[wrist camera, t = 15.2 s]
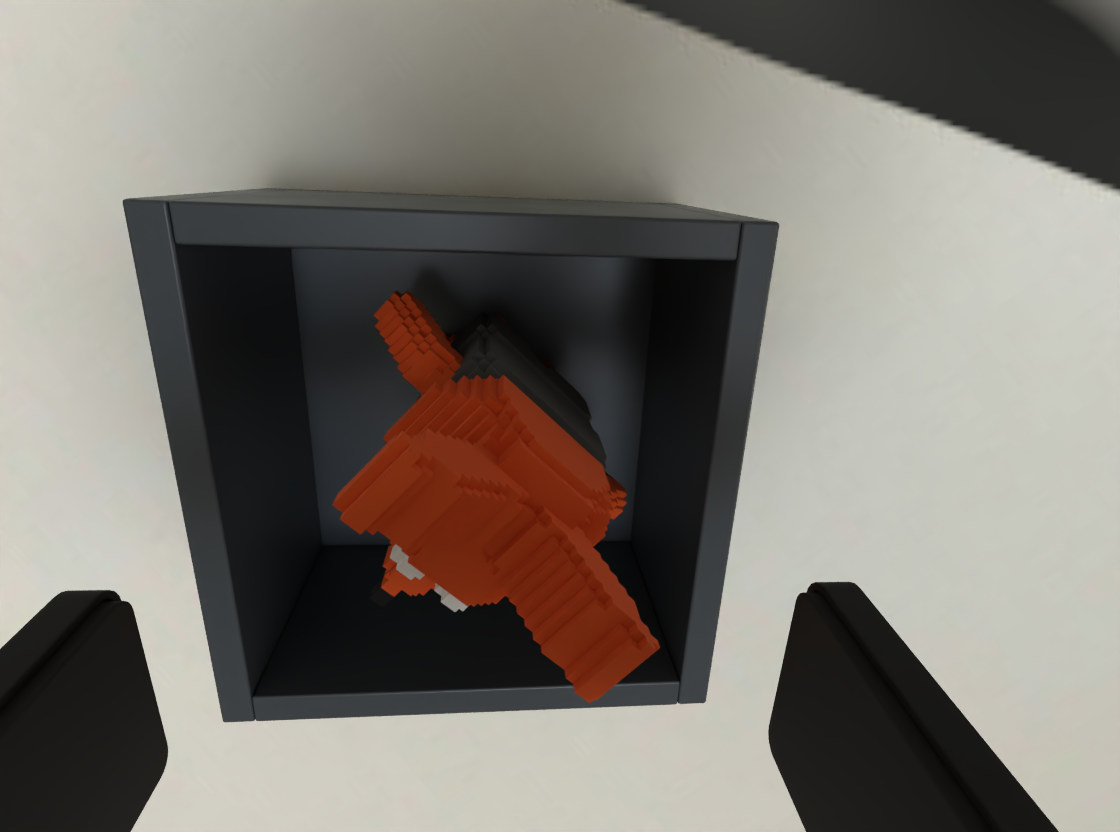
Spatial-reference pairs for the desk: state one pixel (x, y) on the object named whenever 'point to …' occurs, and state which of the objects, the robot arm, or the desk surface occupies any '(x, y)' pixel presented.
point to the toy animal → (498, 494)
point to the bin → (385, 396)
